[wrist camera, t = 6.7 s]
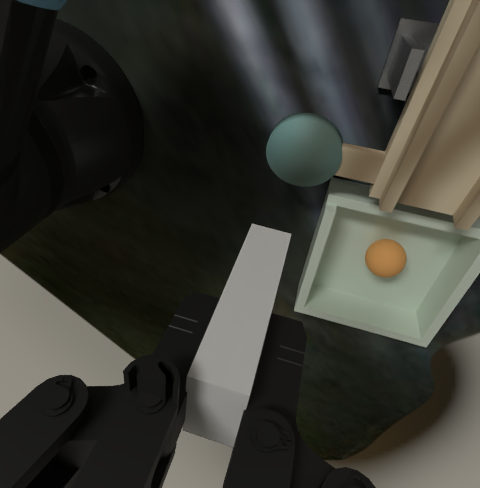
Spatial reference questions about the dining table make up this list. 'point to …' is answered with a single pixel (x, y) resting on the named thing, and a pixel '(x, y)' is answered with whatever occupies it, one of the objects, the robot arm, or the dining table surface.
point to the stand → (406, 56)
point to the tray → (392, 288)
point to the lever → (407, 134)
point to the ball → (385, 258)
